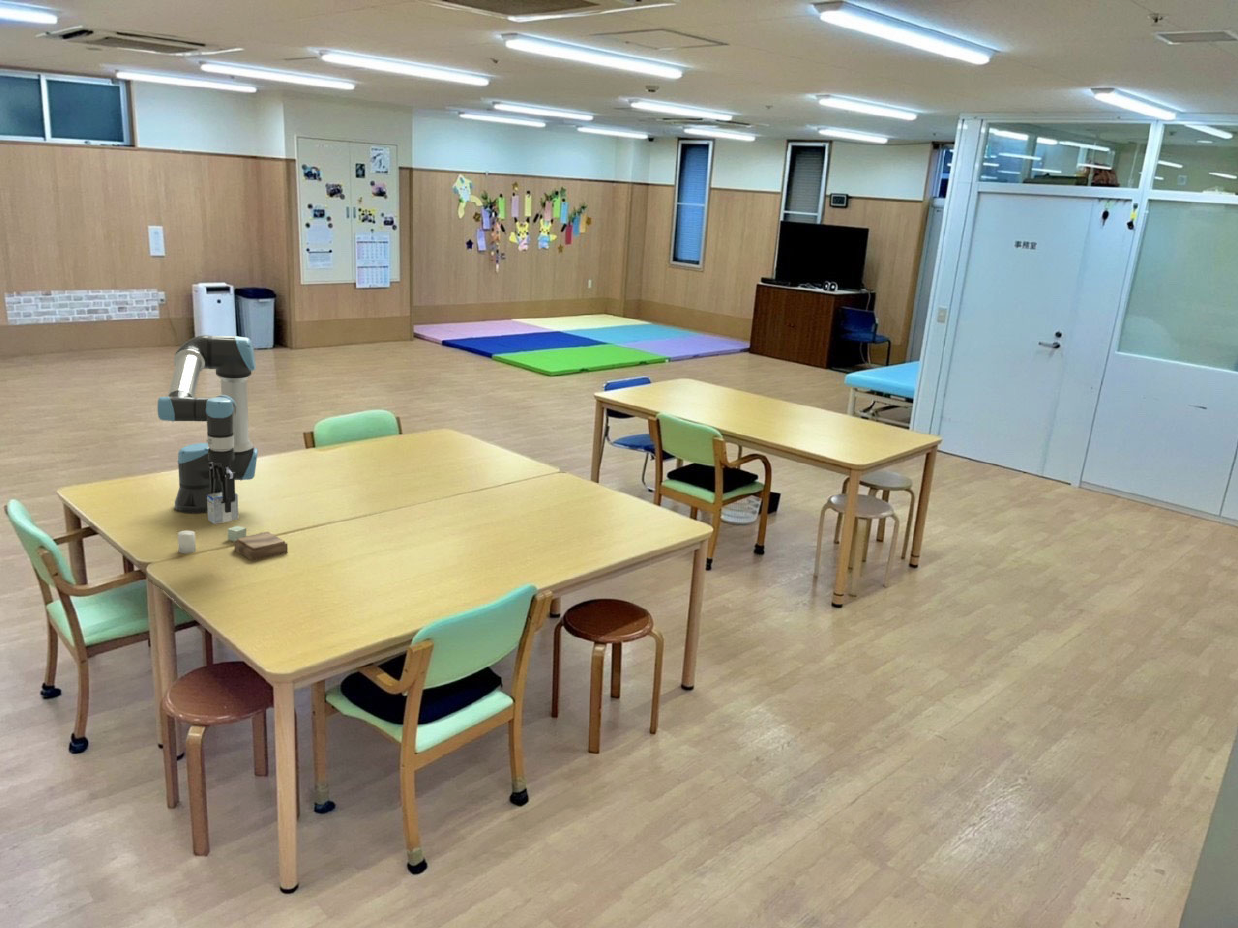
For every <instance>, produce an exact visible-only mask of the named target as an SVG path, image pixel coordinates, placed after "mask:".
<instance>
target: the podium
mask: <svg viewBox="0 0 1238 928" xmlns="http://www.w3.org/2000/svg"><path fill="white" fill-rule="evenodd" d="M234 550H235V551H236V552H238V553H240V554H241V555H243V557H247V559H249V560H251V561H253V562H255V561H259V560H262V559H266V558H270V557H271V558H272V557H275V556H280V555H283V554H286V553H287V554H288V552H289V550H288V543H287V542H286V540H283V539H282V538H280V537H278V536H276V535H275V534H273V533H271V532H270V531H265V532H260V533H256V534H251V535H246V537H242V538H237V540H235V542H234Z"/></svg>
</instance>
